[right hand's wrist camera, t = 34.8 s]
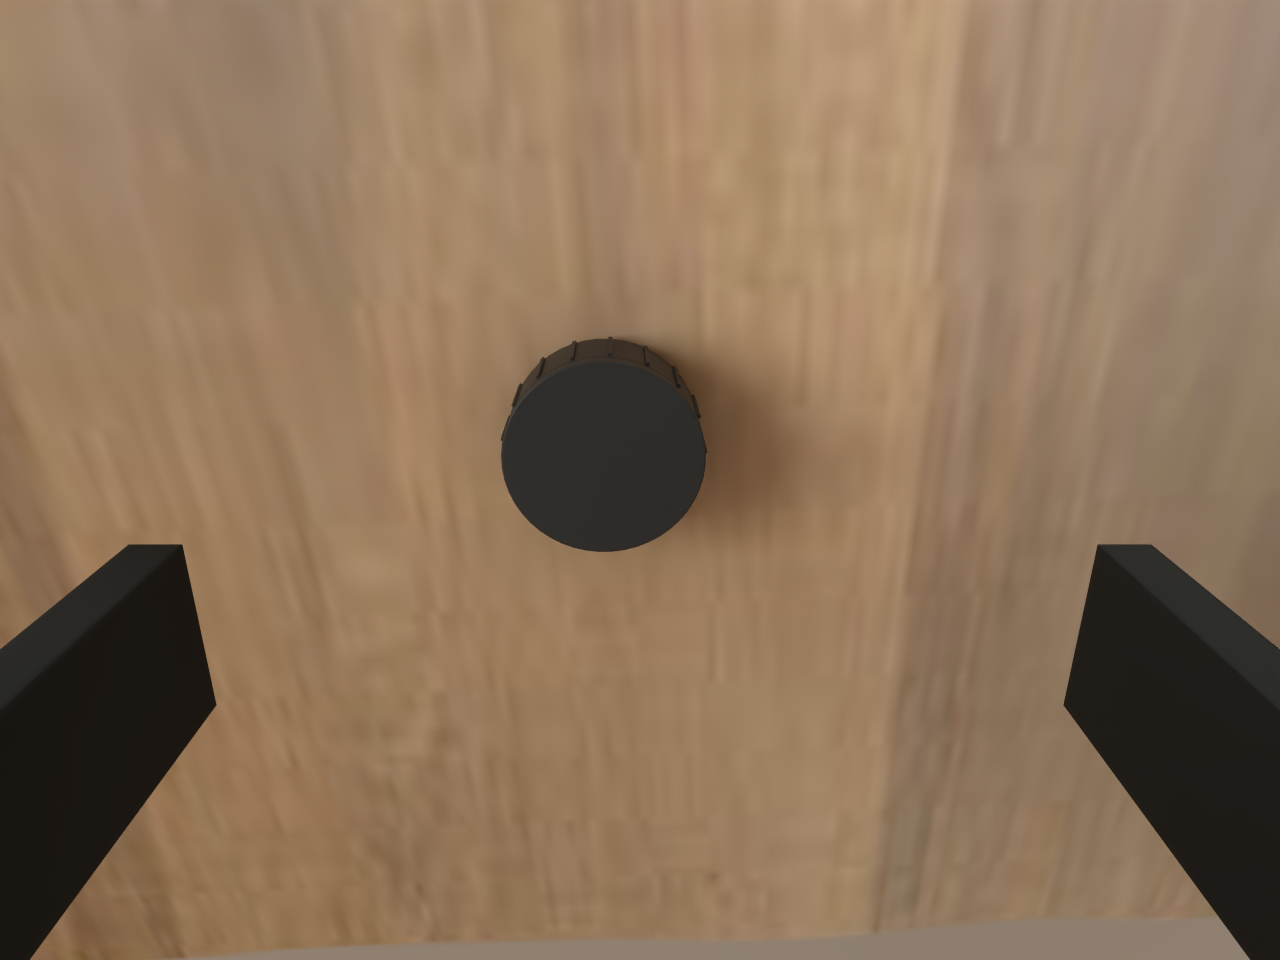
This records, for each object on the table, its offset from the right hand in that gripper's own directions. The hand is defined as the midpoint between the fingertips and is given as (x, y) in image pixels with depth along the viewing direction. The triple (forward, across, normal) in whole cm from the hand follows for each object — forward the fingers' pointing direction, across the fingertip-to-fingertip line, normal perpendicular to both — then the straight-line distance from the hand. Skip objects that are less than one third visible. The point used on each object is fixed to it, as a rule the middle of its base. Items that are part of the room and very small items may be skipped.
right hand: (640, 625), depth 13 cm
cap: (+6, +1, 0) cm, 6 cm away
